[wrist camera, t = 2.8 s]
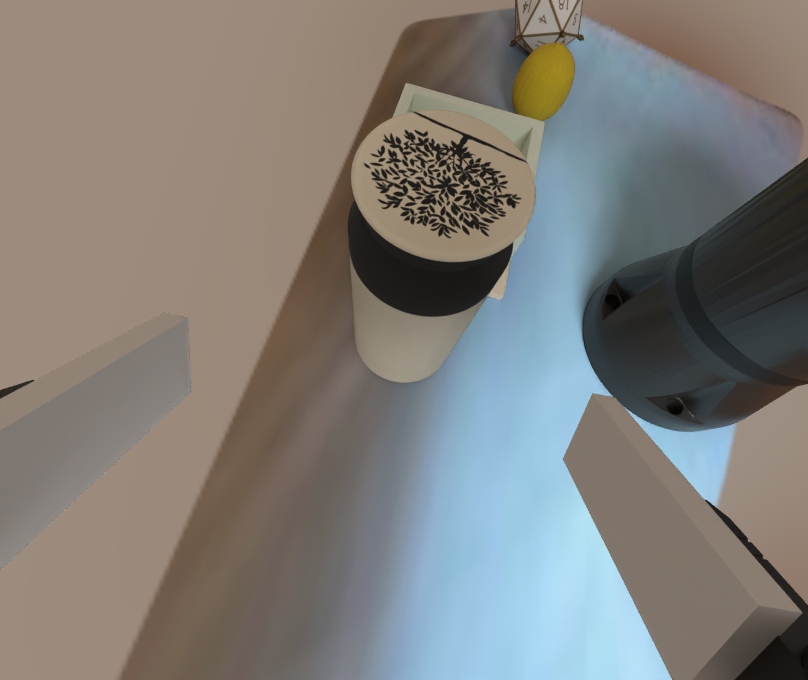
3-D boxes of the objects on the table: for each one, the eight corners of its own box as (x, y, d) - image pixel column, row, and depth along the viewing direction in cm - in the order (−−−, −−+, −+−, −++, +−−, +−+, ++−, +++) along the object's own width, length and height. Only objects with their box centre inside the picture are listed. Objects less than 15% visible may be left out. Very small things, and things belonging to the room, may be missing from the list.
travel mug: (416, 403, 30) (482, 302, 13) (335, 347, 31) (301, 186, 14) (466, 328, 33) (575, 165, 16) (391, 278, 34) (417, 76, 17)
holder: (401, 119, 40) (407, 63, 35) (528, 155, 40) (553, 104, 35) (350, 257, 34) (347, 214, 29) (500, 300, 34) (526, 265, 29)
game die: (516, 92, 49) (505, 42, 40) (508, 26, 49) (495, -40, 40) (592, 65, 46) (600, 4, 37) (584, -6, 46) (589, -86, 36)
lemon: (542, 146, 41) (582, 72, 34) (495, 127, 41) (524, 49, 34) (555, 114, 43) (595, 37, 36) (510, 96, 43) (540, 16, 36)
